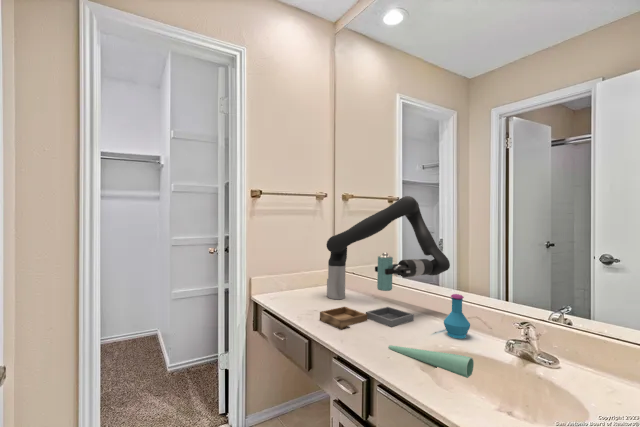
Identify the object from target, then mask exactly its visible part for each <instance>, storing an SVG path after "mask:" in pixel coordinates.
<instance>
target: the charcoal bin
mask: <svg viewBox="0 0 640 427" xmlns="http://www.w3.org/2000/svg"><path fill="white" fill-rule="evenodd" d="M365 314H367V320H370V321H373V322H376V323H379V324H381V325H384V326H387V327H389V328H394V327H398V326H400V325H404V324H407V323H410V322H414V320H415V318H414V317H415V314H413V313H410V312H407V311H403V310H400V309H398V308H394V307H391V306H386V307H381V308H376V309H373V310H369V311H365Z"/></svg>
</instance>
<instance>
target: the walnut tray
mask: <svg viewBox="0 0 640 427" xmlns="http://www.w3.org/2000/svg"><path fill="white" fill-rule="evenodd" d="M319 321H321V322H323V323H324V324H325V323H326V324H328V325H330V326H332V327H334V328H337V329H339V330H341V331H342V330H345V329H349V328H350V329H351V326H352V325H355V324H359V323H363V322H367V321H368V319H367V314H366V313H365V312H361V311H358V310H356V309H353V308H350V307H348V306H342V307H337V308H331V309H327V310H322V311H319Z"/></svg>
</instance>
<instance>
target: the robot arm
mask: <svg viewBox="0 0 640 427" xmlns="http://www.w3.org/2000/svg"><path fill="white" fill-rule="evenodd" d="M404 216H405V218H406V220H408V222H409V224H410V225H411V228H412V230H413V233H414V235H415V237H416V240H417V243H418V246H419V247H420V249H421V252H422V253H423V255H424V256H431V257H432V258H433V259H431V260H429V259H426V258H421V259H418V258H416V259H415V258H410V259H401V260H400V261H398V263H393V269H385V274H386V275H390V274H392V275H395V276H399V277H402V278H412V277H419V276H425V275H427V276H437V275H440V274H443V273H445V272H446V271H448V270H449V269H450V268H451V267H450V266H451V263H450V260H449V258H448V257H447V256H446V255H445V254H444V252H443V251H442V250H441V249H440V248H439V247H438V245H437V243H436V242H435V238H434V237H433V235H432V234H431V232H430V230H429V228H428V226H427V225H426V223H425V221H424V219H423V216H422V212H421V209H420V206H419V202H418V201H417V200H416V199H415V197H413V196H410V195H409V196H408V195H405V196H402V197H401V198H399V199H398V200H396V201H395V202H394V203H392V204H390V205H389V206H387V207H386V208H384V209H382V210H380V211H377V212H375V213H374V214H372V215H369V216H368V217H366V218H364V219H363V220H361V221H359V222H357V223H356V224H354V225H353V226H351V227H350V228H348V229H347V230H345V231H342V232H340V233H338V234H334V235H332V236H330V237H329V238H328V239H327V241H326V249H327V250H328V251H329V252H330V256H329V259H328V265H327V266H328V270H327V272H328V273H327V278H326V297H327V298H329V299H330V300H343V299H345V298H346V269H347V268H346V267H347V266H346V262H347V259H348V258H347V257H348V246H350V245H352V244H354V243H356V242H360V241H362V240H365V239H368V238H369V237H372V236H374V235H376V234H378V233H379V232H381V231H383V230H384V229H386V227H388V226H389V225H390V224H391V223H392V222H393V221H396V220H398V219H400V218H402V217H404ZM374 272H376V273H378V265H377V266H374Z"/></svg>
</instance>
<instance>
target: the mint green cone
mask: <svg viewBox="0 0 640 427" xmlns="http://www.w3.org/2000/svg"><path fill="white" fill-rule="evenodd" d="M387 348H388V350H392V351H393V352H396V353H399V354H402V355H404V356H406V357H410V358H412V359H416V360H418V361H420V362H422V363H425V364H428V365H431V366H434V367H436V368H439V369H441V370H445V371H447V372H450V373H452V374H454V375H455V374H456V375H457V376H460V377H461V376H462V377H463V378H466V379H468V378H470V377H471V376H472V375H473V371H474V364H475V362H474V359H473V357H471V356H466V355H461V354H455V353H449V352H448V353H447V352H441V351H435V350H434V351H433V350H427V349H417V348H413V347H406V346H398V345H388V346H387Z"/></svg>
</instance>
